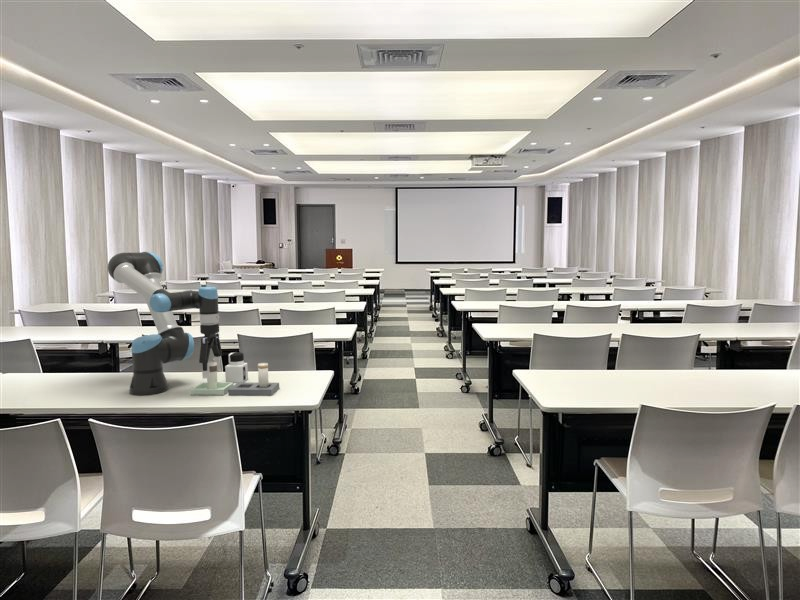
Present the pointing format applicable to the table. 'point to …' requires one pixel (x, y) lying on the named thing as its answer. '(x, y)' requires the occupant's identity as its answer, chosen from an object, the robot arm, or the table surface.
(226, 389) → the parts tray
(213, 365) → the fuse
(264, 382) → the cylinder
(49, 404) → the table surface
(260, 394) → the fuse block
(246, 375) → the container
